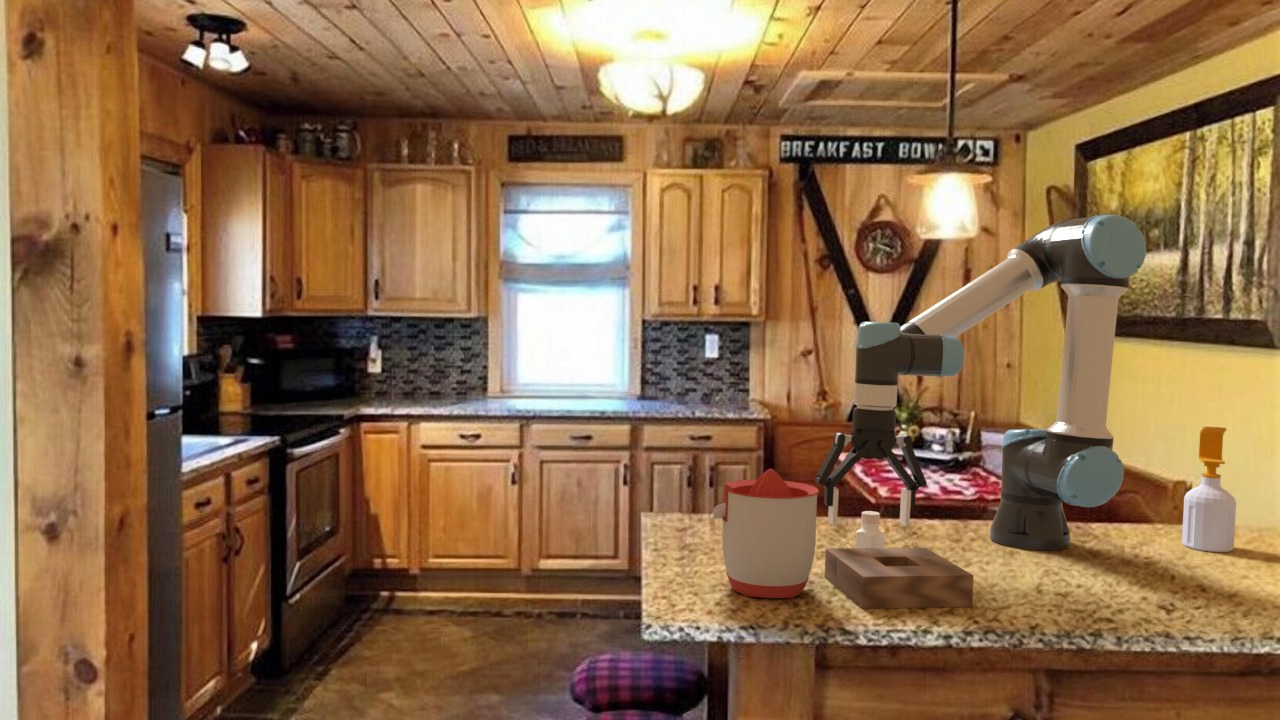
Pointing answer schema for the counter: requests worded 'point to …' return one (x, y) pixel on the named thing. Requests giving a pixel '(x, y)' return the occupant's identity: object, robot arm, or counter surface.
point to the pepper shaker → (870, 531)
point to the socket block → (898, 578)
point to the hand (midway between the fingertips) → (868, 524)
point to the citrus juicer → (768, 535)
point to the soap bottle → (1209, 501)
